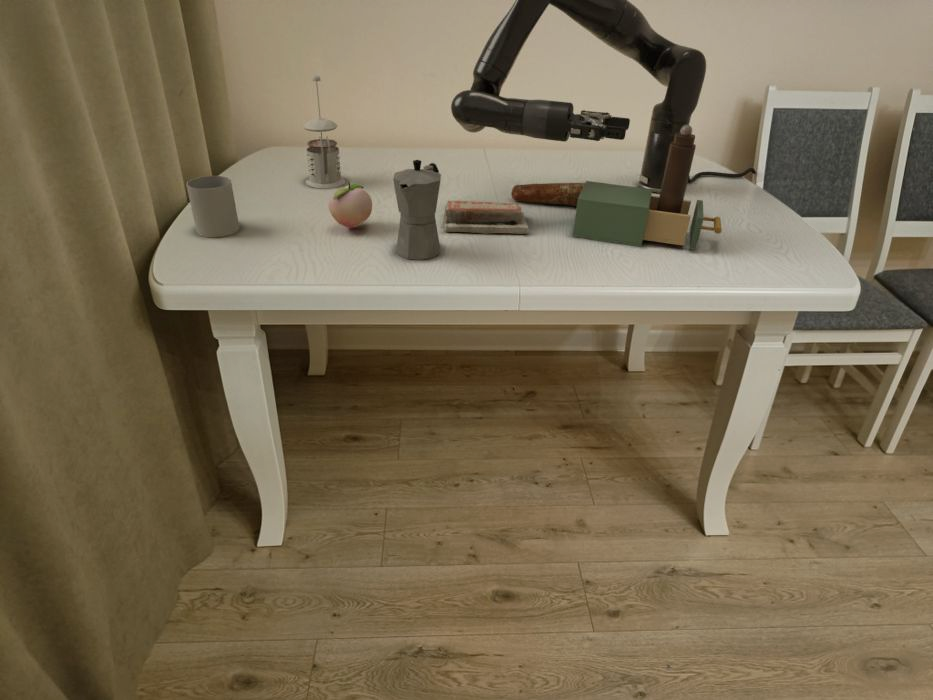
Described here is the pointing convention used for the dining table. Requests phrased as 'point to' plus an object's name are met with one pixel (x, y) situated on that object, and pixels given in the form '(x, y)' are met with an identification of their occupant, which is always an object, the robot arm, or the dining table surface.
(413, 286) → the dining table surface
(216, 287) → the dining table surface
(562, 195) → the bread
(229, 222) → the cup
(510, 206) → the packaged product
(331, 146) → the french press
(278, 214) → the dining table surface
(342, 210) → the decorative fruit
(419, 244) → the coffeepot
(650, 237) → the drawer
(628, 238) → the cabinet
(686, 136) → the pepper mill
